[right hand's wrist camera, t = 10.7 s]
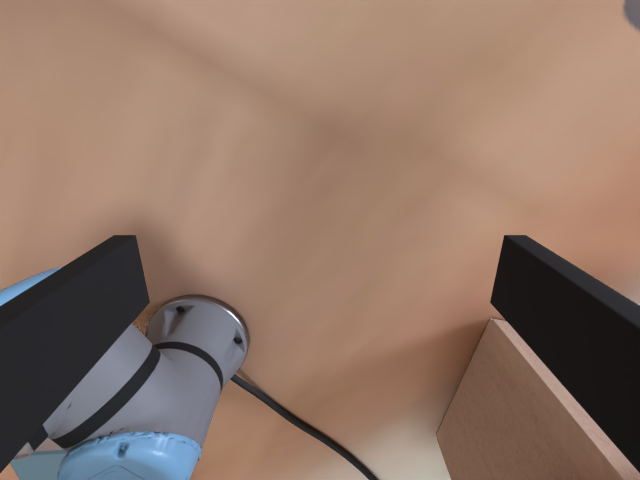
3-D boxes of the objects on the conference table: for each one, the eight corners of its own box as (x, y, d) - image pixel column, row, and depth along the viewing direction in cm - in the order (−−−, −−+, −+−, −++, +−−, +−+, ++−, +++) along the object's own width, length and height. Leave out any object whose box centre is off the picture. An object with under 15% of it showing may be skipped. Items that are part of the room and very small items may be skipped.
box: (552, 488, 66) (697, 726, 41) (375, 461, 63) (412, 699, 38) (684, 298, 51) (1051, 490, 25) (457, 252, 48) (612, 415, 22)
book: (156, 422, 60) (142, 449, 55) (176, 484, 66) (166, 512, 61) (30, 429, 60) (6, 456, 56) (62, 489, 66) (42, 518, 61)
